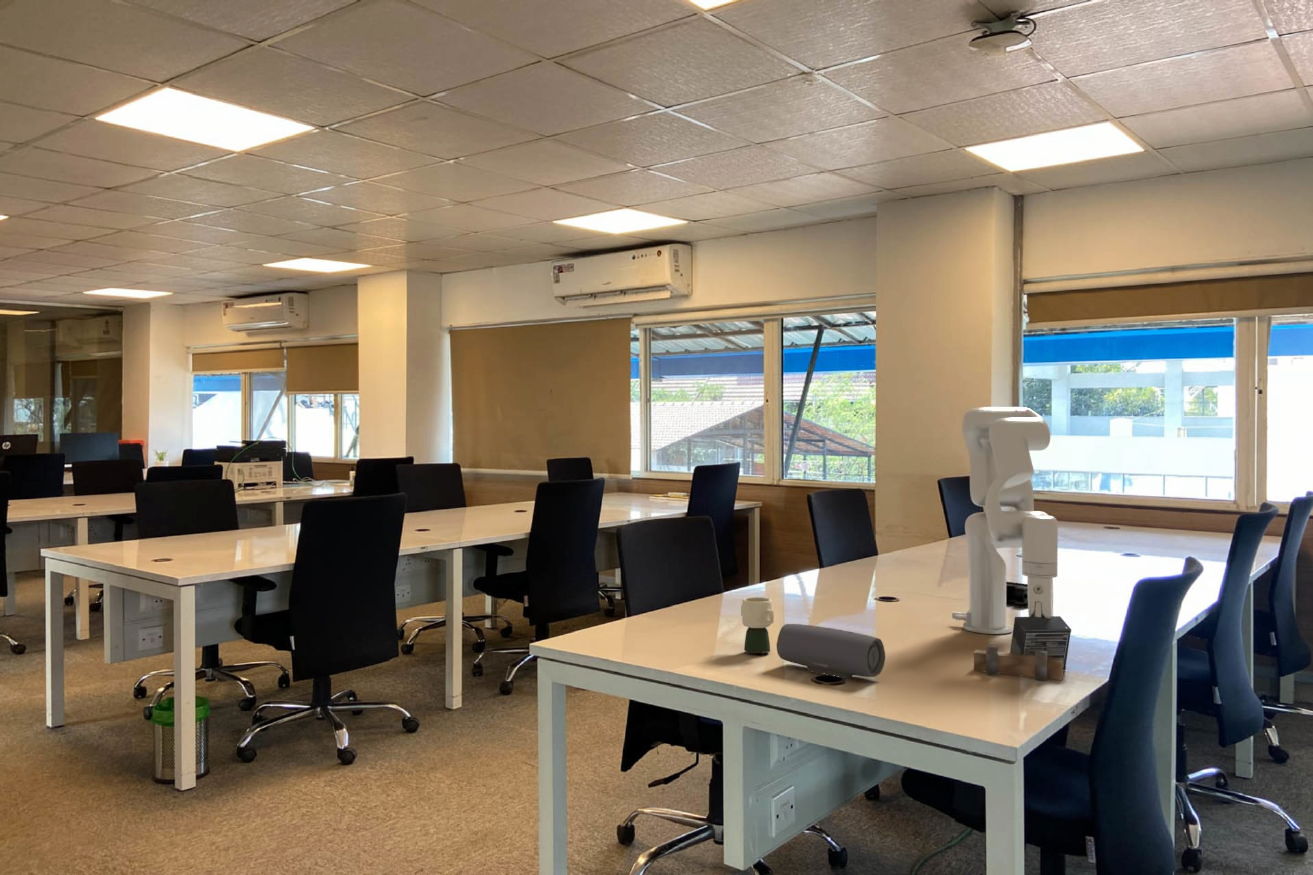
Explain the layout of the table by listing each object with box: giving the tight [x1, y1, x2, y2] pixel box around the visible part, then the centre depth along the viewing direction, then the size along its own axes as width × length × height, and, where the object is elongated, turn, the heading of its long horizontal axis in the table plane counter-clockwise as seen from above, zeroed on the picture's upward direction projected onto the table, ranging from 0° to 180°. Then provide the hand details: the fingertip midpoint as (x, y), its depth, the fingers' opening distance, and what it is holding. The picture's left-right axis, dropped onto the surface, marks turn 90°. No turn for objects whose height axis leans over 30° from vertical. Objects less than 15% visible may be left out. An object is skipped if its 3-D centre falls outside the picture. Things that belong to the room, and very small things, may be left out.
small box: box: [1009, 615, 1072, 671], centre depth 203 cm, size 11×6×10 cm, turn 90°
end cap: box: [1006, 581, 1028, 609], centre depth 279 cm, size 10×7×7 cm
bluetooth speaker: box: [776, 623, 886, 679], centre depth 201 cm, size 23×9×10 cm, turn 48°
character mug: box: [740, 596, 775, 655], centre depth 219 cm, size 11×7×13 cm, turn 37°
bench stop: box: [973, 645, 1064, 682], centre depth 199 cm, size 18×5×6 cm, turn 63°
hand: (1039, 648), depth 209 cm, fingers closed
